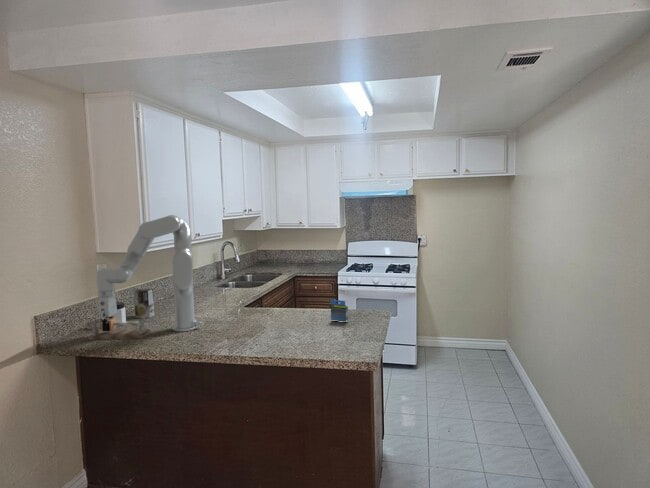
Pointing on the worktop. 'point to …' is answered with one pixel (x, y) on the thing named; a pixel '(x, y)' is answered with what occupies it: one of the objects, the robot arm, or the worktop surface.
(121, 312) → the jar
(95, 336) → the cube slider rail
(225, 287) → the worktop surface
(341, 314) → the label tape cartridge
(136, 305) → the coffee box
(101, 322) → the sleeve
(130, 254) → the robot arm
